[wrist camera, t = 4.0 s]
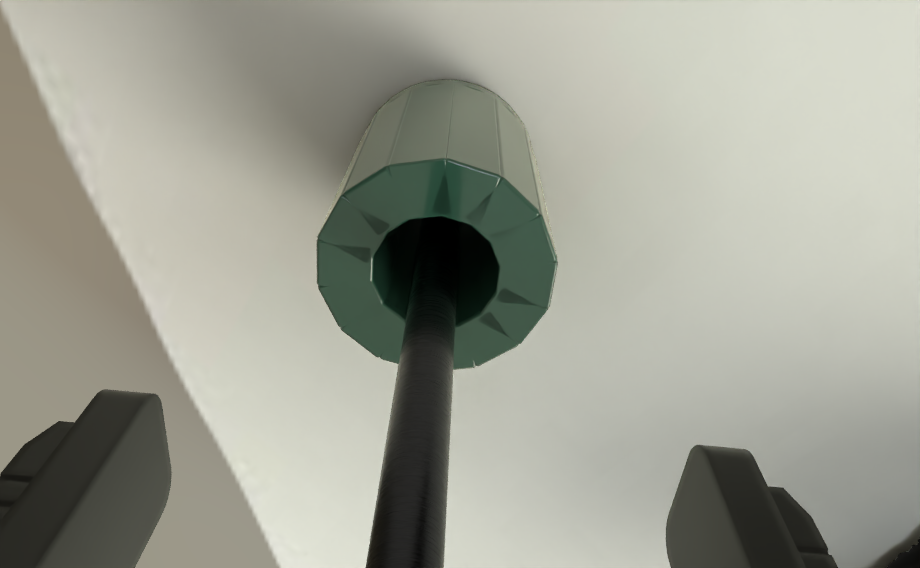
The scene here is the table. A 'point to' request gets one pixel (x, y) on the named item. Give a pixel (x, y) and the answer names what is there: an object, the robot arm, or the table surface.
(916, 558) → the movie camera
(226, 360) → the table surface
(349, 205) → the holder
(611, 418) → the table surface
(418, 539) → the stylus
